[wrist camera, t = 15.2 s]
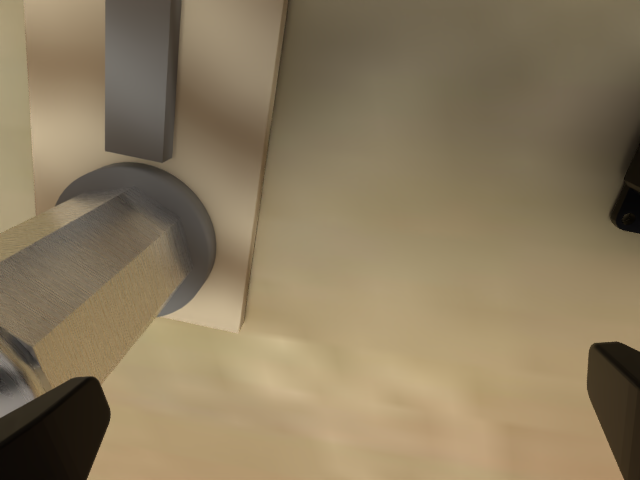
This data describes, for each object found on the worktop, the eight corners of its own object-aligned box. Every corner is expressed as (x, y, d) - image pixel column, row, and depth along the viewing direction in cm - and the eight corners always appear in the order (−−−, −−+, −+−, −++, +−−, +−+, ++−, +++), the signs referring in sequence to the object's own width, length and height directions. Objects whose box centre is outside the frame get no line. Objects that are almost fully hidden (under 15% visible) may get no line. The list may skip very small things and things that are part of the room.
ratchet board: (243, 322, 24) (212, 388, 19) (53, 281, 24) (-23, 336, 19) (311, -168, 16) (287, -257, 11) (30, -220, 16) (-105, -328, 12)
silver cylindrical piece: (213, 240, 20) (74, 406, 10) (152, 326, 22) (-11, 530, 12) (100, 160, 19) (-160, 264, 10) (47, 257, 21) (-211, 420, 12)
